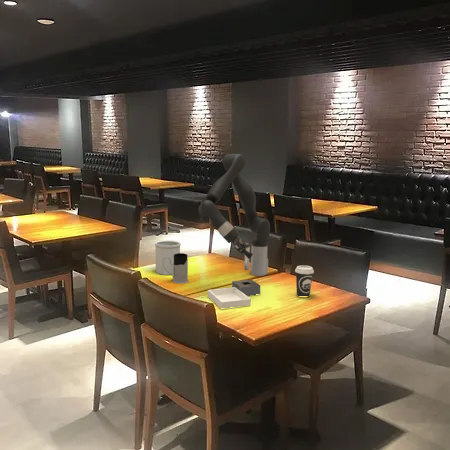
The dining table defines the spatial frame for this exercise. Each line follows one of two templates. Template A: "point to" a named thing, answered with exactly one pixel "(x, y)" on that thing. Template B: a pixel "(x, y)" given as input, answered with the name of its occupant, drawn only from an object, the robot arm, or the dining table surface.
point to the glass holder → (179, 268)
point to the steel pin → (246, 263)
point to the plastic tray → (229, 297)
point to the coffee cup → (304, 280)
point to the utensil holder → (166, 255)
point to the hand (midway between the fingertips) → (250, 256)
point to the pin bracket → (247, 287)
